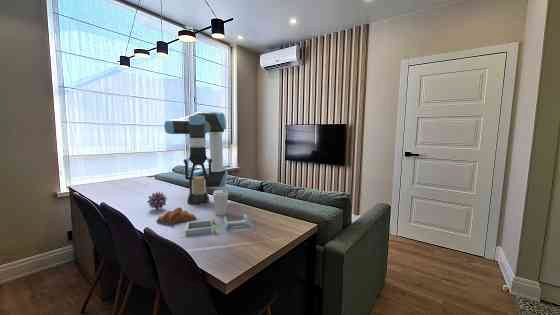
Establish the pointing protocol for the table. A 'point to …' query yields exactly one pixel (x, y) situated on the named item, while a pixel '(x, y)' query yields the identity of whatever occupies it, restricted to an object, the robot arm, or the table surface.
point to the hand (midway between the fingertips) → (199, 192)
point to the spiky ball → (157, 200)
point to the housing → (211, 228)
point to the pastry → (176, 217)
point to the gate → (235, 222)
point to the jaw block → (198, 185)
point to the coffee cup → (220, 201)
